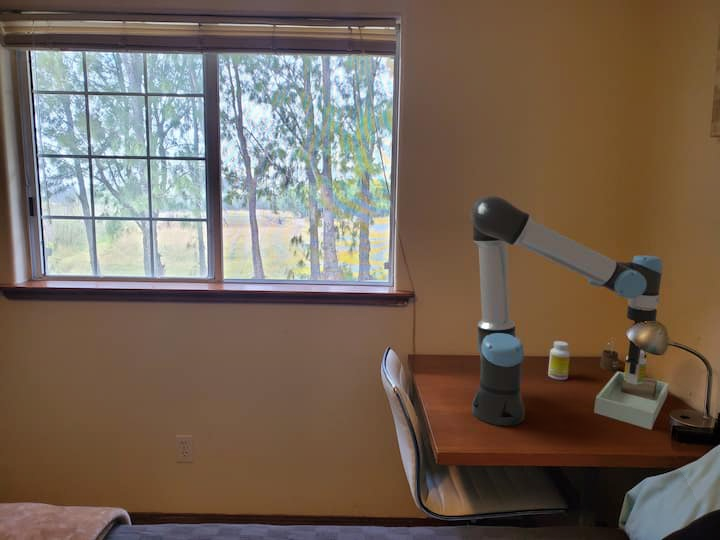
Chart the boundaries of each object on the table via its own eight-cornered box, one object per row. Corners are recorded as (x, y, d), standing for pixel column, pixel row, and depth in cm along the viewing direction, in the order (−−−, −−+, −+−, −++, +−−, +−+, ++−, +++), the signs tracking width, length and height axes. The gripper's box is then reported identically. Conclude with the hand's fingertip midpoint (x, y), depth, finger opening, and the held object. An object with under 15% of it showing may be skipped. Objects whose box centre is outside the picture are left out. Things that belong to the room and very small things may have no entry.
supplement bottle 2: (641, 386, 138) (645, 355, 136) (621, 380, 142) (625, 350, 140) (645, 380, 142) (649, 350, 140) (625, 375, 146) (629, 346, 144)
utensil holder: (598, 369, 174) (601, 339, 172) (602, 365, 179) (605, 335, 177) (615, 373, 171) (619, 343, 169) (619, 369, 175) (622, 339, 173)
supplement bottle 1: (570, 381, 163) (573, 346, 161) (550, 379, 164) (553, 345, 162) (564, 374, 170) (568, 340, 168) (546, 372, 171) (549, 339, 169)
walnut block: (652, 400, 148) (654, 385, 147) (621, 391, 154) (622, 377, 153) (655, 395, 152) (657, 380, 151) (624, 387, 157) (626, 373, 157)
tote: (651, 429, 130) (653, 413, 130) (594, 412, 140) (595, 397, 139) (666, 397, 151) (668, 383, 150) (615, 384, 161) (617, 371, 160)
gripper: (651, 315, 129) (641, 393, 133) (662, 303, 142) (653, 374, 146) (621, 310, 133) (612, 385, 137) (634, 300, 147) (626, 368, 151)
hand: (633, 379), depth 142 cm, fingers closed on supplement bottle 2, 5 cm apart
